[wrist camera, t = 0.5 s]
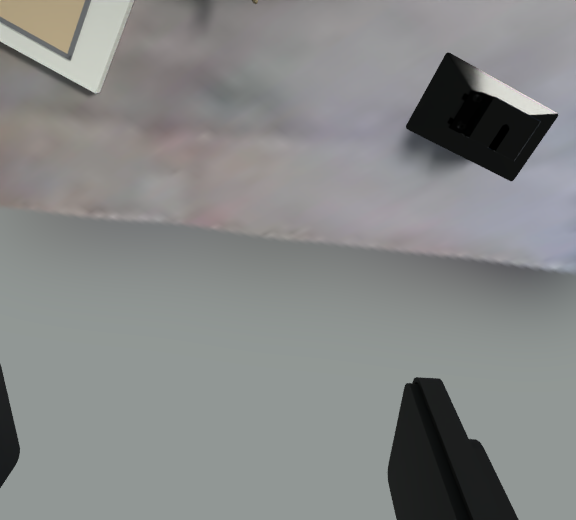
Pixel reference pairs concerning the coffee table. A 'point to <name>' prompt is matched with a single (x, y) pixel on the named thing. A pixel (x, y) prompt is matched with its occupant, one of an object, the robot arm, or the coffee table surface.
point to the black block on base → (480, 118)
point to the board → (66, 35)
